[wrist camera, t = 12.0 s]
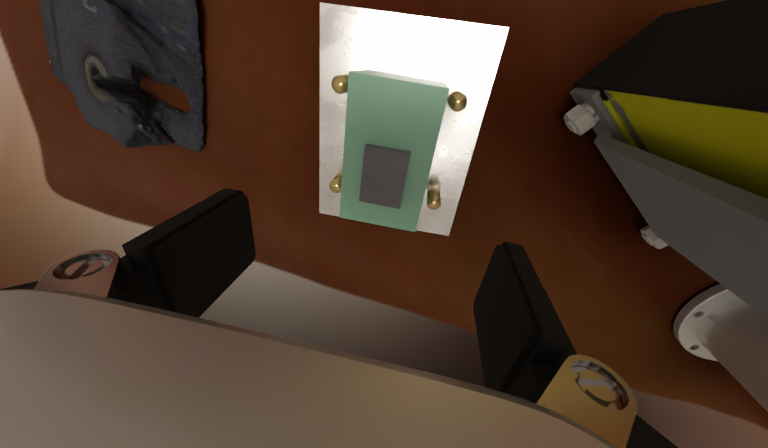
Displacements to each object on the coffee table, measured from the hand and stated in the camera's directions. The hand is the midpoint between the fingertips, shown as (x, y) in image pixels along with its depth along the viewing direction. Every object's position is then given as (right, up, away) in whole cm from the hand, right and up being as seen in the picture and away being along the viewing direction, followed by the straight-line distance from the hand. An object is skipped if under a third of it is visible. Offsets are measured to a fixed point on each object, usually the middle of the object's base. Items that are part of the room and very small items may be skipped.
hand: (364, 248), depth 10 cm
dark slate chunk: (-21, +19, +14) cm, 32 cm away
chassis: (+2, +9, +15) cm, 18 cm away
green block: (+2, +9, +14) cm, 17 cm away
